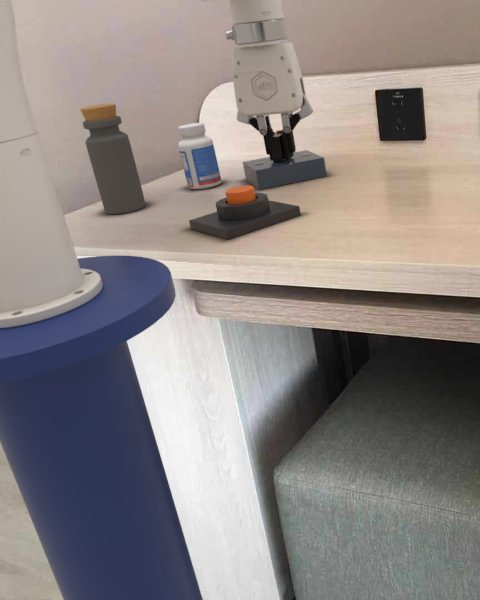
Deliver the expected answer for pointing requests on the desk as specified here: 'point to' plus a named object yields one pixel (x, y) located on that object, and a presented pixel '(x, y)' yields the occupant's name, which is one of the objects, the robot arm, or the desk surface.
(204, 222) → the switch base
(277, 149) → the black toggle lever
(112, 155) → the bottle
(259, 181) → the panel
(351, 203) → the desk surface
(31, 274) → the robot arm
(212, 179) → the pill bottle
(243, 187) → the switch
